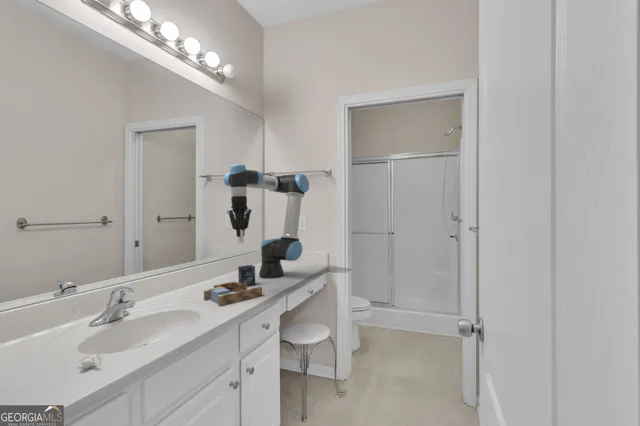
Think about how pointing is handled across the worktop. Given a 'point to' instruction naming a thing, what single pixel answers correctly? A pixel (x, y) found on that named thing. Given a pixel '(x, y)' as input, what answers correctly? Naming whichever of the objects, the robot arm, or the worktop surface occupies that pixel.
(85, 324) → the worktop surface
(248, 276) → the box
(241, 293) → the wooden zigzag frame
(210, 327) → the worktop surface
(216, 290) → the block
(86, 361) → the dove figurine
